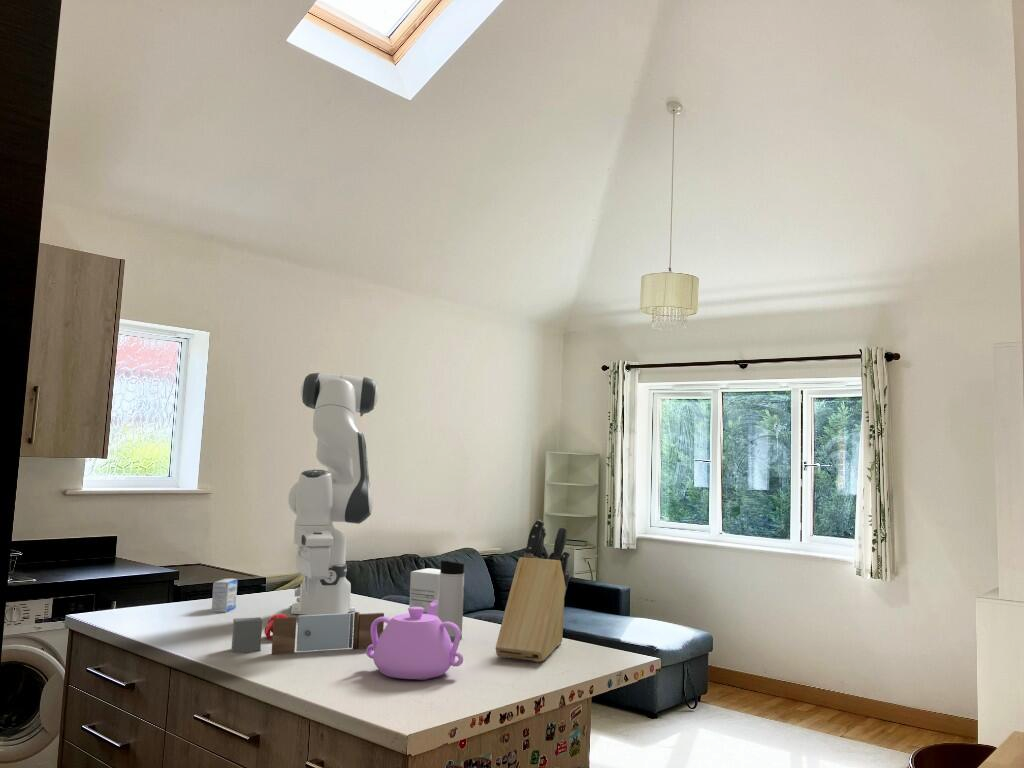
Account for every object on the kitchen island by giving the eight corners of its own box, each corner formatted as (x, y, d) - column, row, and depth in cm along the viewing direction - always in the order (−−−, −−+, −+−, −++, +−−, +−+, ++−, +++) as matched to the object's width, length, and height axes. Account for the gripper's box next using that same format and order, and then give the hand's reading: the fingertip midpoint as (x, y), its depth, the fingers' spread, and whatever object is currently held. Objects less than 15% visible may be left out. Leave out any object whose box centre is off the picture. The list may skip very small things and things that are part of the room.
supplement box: (424, 620, 229) (426, 567, 230) (451, 624, 225) (453, 570, 226) (407, 626, 221) (409, 570, 222) (435, 629, 217) (437, 573, 218)
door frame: (271, 653, 184) (273, 615, 185) (381, 646, 195) (382, 610, 196) (272, 654, 183) (274, 616, 184) (382, 647, 194) (384, 611, 195)
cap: (295, 627, 198) (297, 611, 203) (272, 620, 196) (275, 604, 201) (282, 650, 201) (285, 633, 206) (259, 643, 199) (262, 626, 204)
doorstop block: (231, 649, 187) (233, 618, 188) (258, 647, 190) (259, 617, 191) (233, 652, 184) (235, 621, 185) (260, 651, 186) (262, 620, 187)
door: (351, 647, 192) (353, 612, 193) (353, 649, 190) (355, 614, 191) (296, 650, 186) (298, 615, 187) (298, 652, 184) (300, 617, 185)
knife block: (571, 636, 214) (574, 519, 217) (541, 666, 180) (545, 528, 184) (530, 632, 217) (533, 517, 220) (493, 661, 183) (498, 525, 187)
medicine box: (226, 613, 231) (228, 582, 232) (210, 612, 231) (213, 581, 232) (236, 608, 239) (238, 578, 240) (221, 607, 239) (223, 578, 240)
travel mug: (431, 638, 206) (434, 559, 208) (450, 635, 211) (453, 557, 213) (447, 642, 202) (451, 562, 204) (466, 639, 206) (469, 560, 208)
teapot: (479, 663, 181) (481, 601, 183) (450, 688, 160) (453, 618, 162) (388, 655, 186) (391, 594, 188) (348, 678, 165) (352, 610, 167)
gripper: (291, 533, 203) (288, 589, 201) (307, 539, 184) (305, 601, 183) (316, 533, 205) (314, 588, 204) (335, 539, 187) (332, 599, 185)
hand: (309, 594), depth 193 cm, fingers closed
